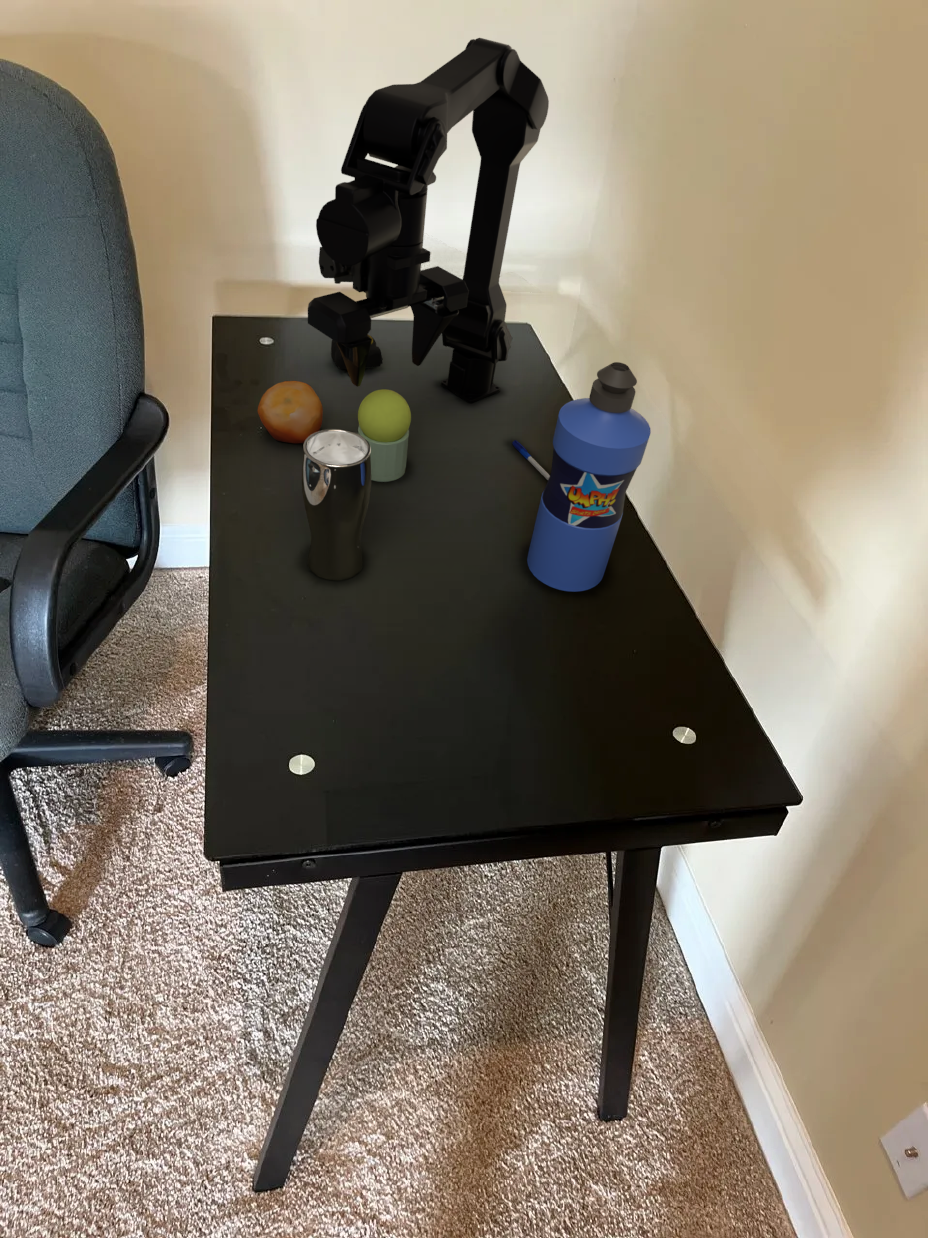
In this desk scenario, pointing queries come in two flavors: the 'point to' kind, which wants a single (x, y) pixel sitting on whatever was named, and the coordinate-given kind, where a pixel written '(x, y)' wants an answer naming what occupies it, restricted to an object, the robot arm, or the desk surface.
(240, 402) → the desk surface
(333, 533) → the metal tumbler
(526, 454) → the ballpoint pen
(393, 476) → the cup
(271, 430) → the fruit
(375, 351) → the tape measure
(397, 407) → the ball
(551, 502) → the blue squeeze bottle
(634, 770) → the desk surface
